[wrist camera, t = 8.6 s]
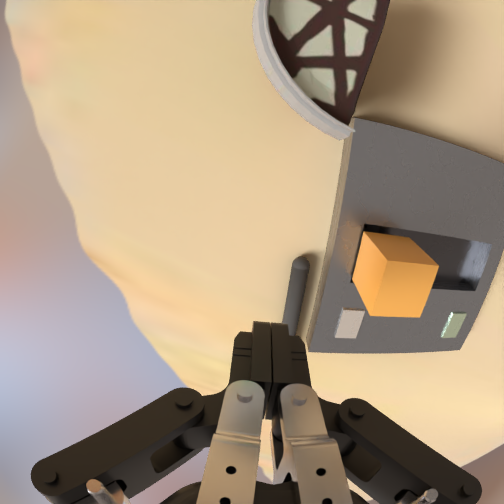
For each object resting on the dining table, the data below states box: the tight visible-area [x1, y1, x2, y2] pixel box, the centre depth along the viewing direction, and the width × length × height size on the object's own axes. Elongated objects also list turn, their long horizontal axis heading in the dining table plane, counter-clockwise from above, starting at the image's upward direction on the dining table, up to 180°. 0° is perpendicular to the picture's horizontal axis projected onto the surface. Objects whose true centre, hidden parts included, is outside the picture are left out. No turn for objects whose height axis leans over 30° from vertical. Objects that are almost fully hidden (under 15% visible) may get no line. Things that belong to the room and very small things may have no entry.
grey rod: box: [282, 257, 310, 336], centre depth 27 cm, size 11×1×1 cm, turn 175°
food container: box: [252, 0, 390, 140], centre depth 14 cm, size 12×6×10 cm, turn 162°
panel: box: [306, 118, 504, 353], centre depth 23 cm, size 20×18×2 cm
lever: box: [352, 231, 439, 317], centre depth 21 cm, size 4×4×7 cm
